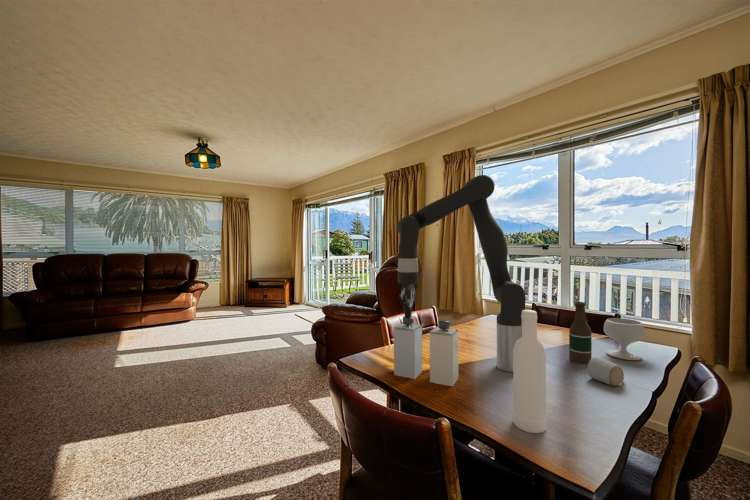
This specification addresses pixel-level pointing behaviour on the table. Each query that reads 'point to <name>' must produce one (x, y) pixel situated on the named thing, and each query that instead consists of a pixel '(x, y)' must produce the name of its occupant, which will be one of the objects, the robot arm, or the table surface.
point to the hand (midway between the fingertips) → (408, 317)
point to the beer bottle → (580, 337)
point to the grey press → (408, 350)
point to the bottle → (529, 377)
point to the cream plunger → (444, 324)
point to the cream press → (444, 356)
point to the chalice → (624, 336)
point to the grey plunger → (408, 321)
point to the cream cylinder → (605, 371)
